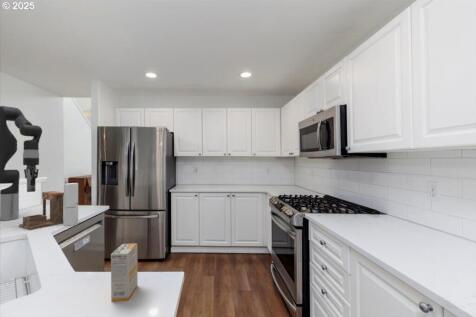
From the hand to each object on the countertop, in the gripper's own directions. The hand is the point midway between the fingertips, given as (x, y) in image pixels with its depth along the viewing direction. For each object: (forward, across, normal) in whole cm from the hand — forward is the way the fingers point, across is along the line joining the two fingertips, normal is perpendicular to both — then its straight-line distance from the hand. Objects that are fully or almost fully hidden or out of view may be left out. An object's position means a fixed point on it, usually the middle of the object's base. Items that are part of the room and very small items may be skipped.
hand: (31, 185), depth 148 cm
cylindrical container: (+25, +20, +13) cm, 34 cm away
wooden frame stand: (+24, +6, +3) cm, 25 cm away
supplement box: (+28, +119, -20) cm, 123 cm away
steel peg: (+4, 0, 0) cm, 4 cm away
